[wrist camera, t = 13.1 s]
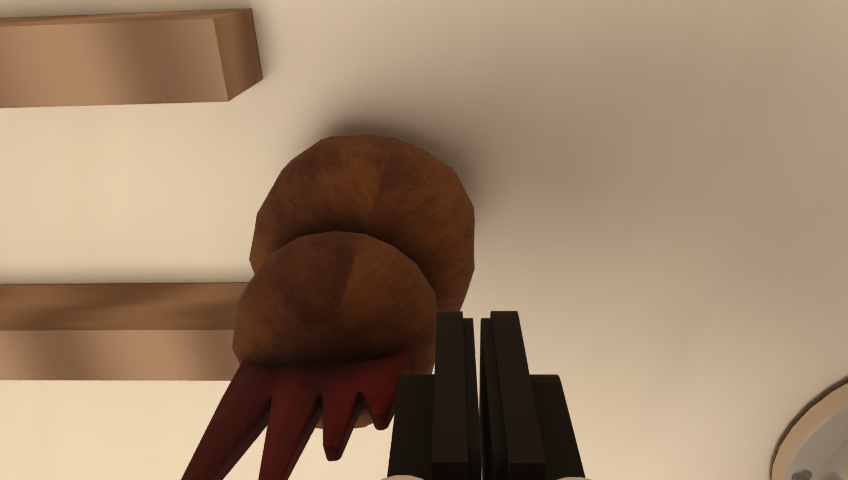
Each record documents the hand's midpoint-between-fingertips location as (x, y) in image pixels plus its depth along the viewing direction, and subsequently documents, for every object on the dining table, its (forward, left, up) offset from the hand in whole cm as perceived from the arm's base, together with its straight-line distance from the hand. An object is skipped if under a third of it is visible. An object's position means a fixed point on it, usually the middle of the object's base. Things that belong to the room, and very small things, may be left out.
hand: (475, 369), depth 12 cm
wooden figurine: (+3, 0, -12) cm, 12 cm away
